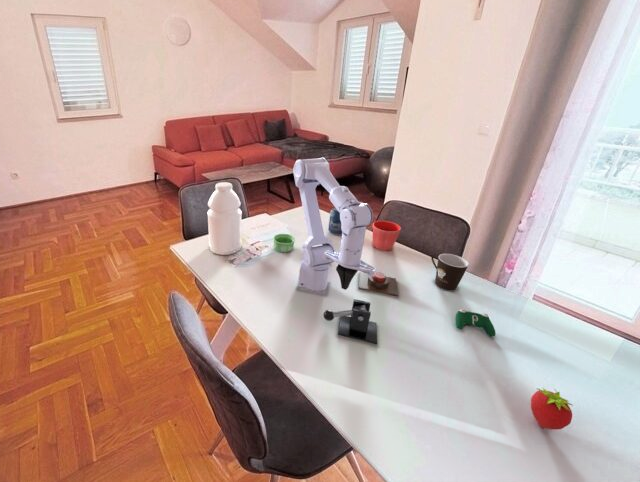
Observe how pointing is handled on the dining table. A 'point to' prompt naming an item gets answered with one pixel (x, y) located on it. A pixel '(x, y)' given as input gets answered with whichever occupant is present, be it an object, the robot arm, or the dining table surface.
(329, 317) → the lever
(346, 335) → the bracket
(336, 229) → the soda can
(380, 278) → the button
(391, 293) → the button block
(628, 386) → the dining table surface
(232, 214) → the bottle
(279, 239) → the ramekin
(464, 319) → the gaming controller
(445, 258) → the coffee mug
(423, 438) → the dining table surface
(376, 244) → the flower pot
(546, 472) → the dining table surface
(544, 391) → the strawberry
